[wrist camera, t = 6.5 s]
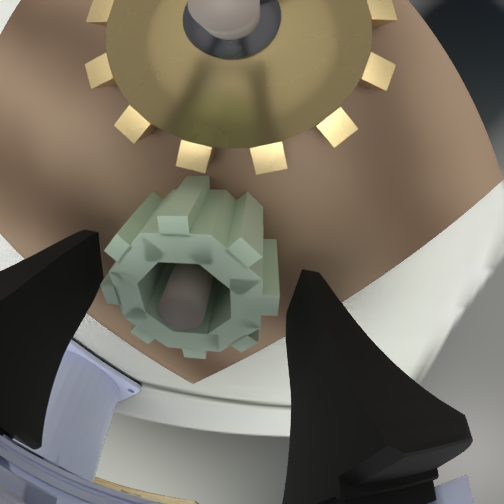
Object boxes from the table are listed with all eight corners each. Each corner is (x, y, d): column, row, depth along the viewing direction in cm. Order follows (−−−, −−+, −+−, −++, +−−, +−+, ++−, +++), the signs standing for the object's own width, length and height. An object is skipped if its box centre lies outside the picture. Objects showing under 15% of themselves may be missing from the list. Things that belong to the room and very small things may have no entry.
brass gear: (234, 212, 10) (222, 270, 8) (65, 57, 7) (-1, 62, 4) (427, 60, 7) (490, 62, 4) (245, -104, 4) (237, -155, 1)
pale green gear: (209, 318, 13) (198, 375, 11) (111, 242, 11) (76, 291, 9) (306, 249, 11) (317, 306, 8) (196, 143, 9) (167, 171, 6)
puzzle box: (84, 471, 58) (111, 488, 71) (80, 482, 54) (109, 497, 67) (197, 499, 57) (207, 508, 70) (196, 513, 54) (205, 519, 66)
